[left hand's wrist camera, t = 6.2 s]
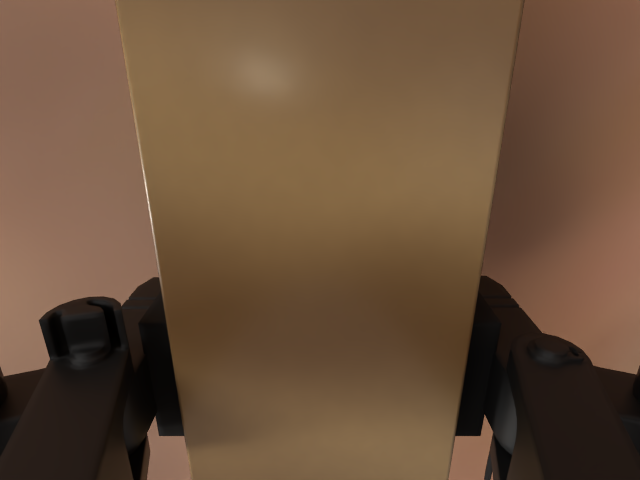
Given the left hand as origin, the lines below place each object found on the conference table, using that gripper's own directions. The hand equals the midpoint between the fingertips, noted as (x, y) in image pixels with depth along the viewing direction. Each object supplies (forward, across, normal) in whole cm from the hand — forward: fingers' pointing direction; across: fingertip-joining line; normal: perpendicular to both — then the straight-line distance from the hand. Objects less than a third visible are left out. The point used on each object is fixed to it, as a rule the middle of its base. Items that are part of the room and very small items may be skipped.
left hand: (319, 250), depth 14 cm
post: (+1, 0, -26) cm, 26 cm away
